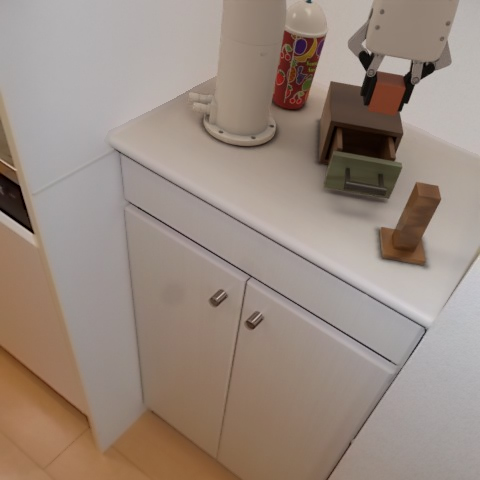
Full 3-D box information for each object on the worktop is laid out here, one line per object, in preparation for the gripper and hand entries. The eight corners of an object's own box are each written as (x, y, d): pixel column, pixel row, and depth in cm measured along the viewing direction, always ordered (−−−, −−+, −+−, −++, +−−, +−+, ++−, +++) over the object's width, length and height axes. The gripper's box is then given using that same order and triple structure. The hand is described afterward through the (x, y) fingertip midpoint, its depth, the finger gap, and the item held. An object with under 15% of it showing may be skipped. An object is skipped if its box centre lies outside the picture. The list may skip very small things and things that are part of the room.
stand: (382, 258, 73) (408, 200, 66) (379, 230, 77) (404, 173, 70) (423, 265, 74) (454, 208, 66) (419, 237, 78) (447, 180, 70)
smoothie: (307, 117, 96) (336, -3, 81) (263, 107, 97) (283, -15, 81) (312, 96, 102) (340, -20, 87) (270, 87, 102) (290, -31, 87)
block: (367, 111, 74) (376, 83, 71) (366, 97, 76) (375, 70, 73) (395, 116, 74) (405, 88, 71) (393, 102, 77) (403, 75, 73)
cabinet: (387, 174, 87) (403, 133, 82) (318, 162, 87) (330, 120, 81) (381, 132, 96) (396, 92, 90) (319, 121, 96) (330, 80, 90)
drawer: (391, 218, 78) (405, 185, 74) (323, 206, 78) (333, 172, 74) (383, 155, 89) (395, 124, 85) (324, 144, 89) (332, 112, 85)
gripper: (496, -43, 64) (435, 101, 77) (360, -67, 63) (324, 82, 77) (510, -23, 59) (442, 127, 73) (363, -50, 58) (323, 106, 72)
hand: (382, 102), depth 75 cm, fingers closed on block, 4 cm apart
